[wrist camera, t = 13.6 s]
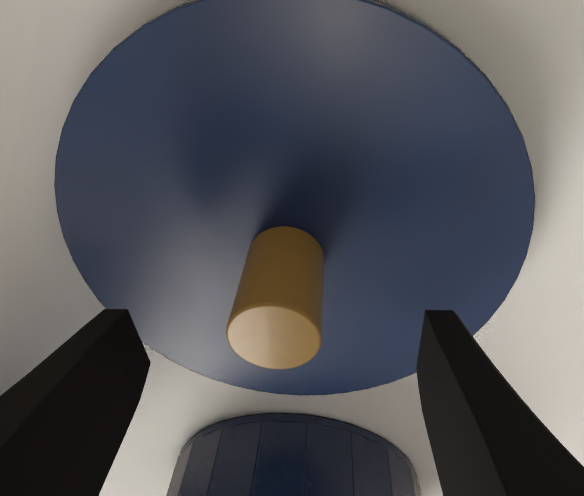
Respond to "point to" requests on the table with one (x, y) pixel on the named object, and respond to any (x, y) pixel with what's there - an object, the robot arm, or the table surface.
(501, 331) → the table surface
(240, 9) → the tin lid
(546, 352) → the table surface
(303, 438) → the tin
